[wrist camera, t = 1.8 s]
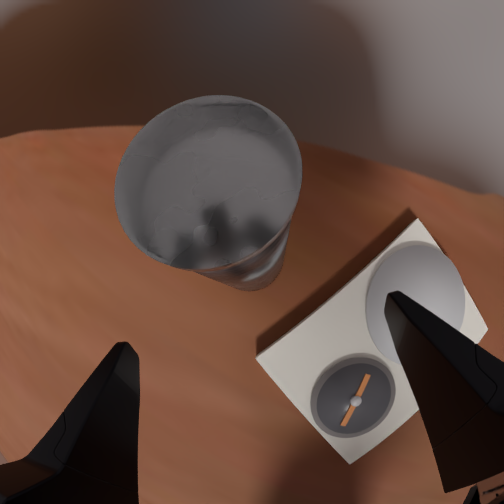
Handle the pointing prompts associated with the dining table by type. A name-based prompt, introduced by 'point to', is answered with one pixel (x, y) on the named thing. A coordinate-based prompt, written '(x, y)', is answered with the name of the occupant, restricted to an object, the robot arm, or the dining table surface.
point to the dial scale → (367, 345)
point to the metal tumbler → (212, 189)
